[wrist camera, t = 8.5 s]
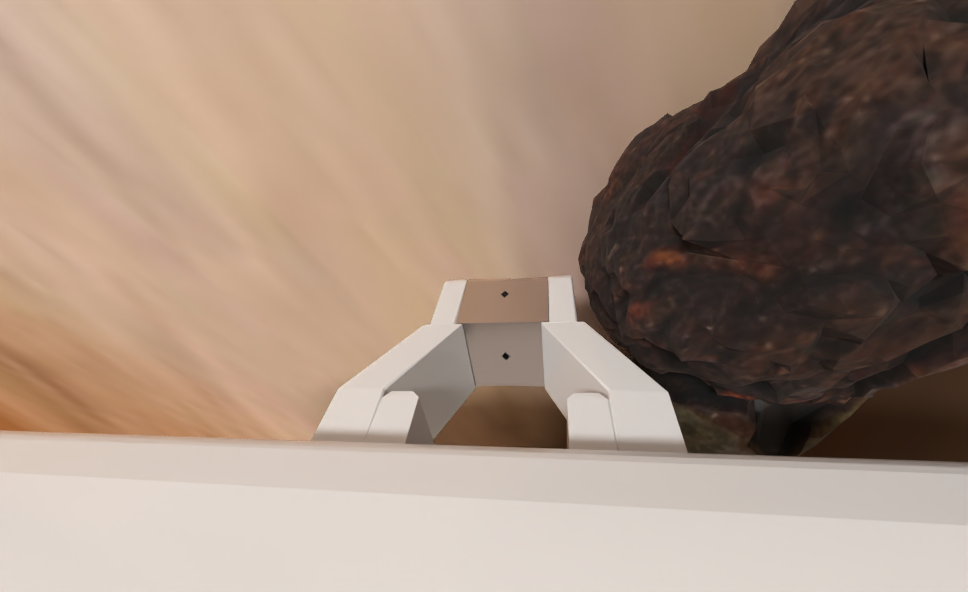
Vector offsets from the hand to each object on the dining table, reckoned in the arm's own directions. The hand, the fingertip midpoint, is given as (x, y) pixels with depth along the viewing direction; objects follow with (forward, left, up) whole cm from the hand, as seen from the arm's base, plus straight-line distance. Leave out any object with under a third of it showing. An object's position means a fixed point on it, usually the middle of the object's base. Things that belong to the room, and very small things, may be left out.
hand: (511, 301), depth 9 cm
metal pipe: (-4, +2, -2) cm, 5 cm away
